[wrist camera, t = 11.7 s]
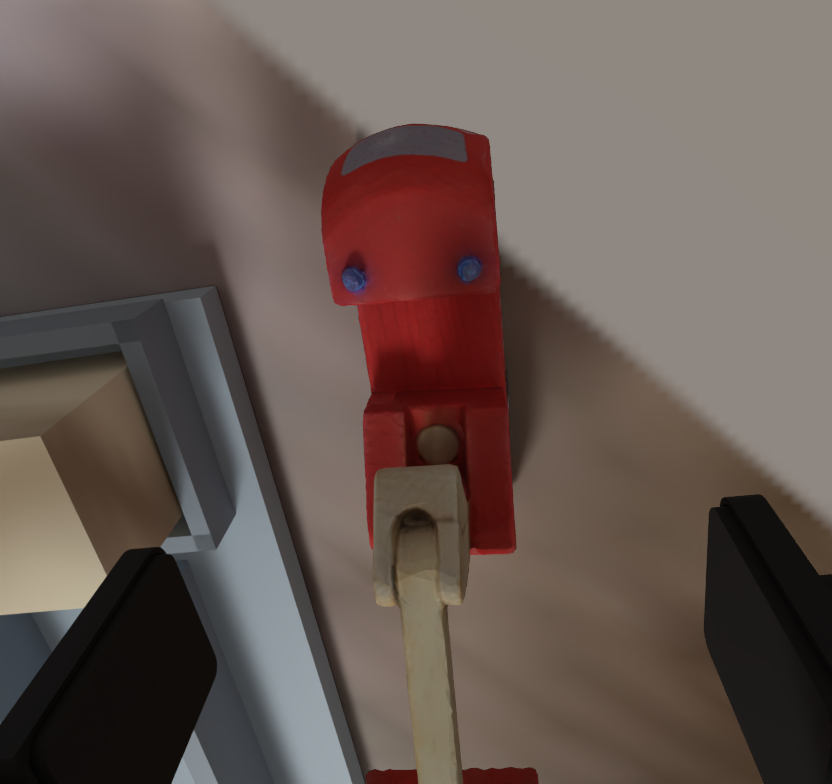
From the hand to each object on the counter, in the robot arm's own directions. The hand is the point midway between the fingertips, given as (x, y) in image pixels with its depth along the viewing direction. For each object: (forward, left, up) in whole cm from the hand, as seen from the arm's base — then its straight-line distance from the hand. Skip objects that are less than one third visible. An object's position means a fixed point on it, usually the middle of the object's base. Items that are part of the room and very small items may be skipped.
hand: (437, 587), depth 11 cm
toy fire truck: (0, 0, -7) cm, 7 cm away
